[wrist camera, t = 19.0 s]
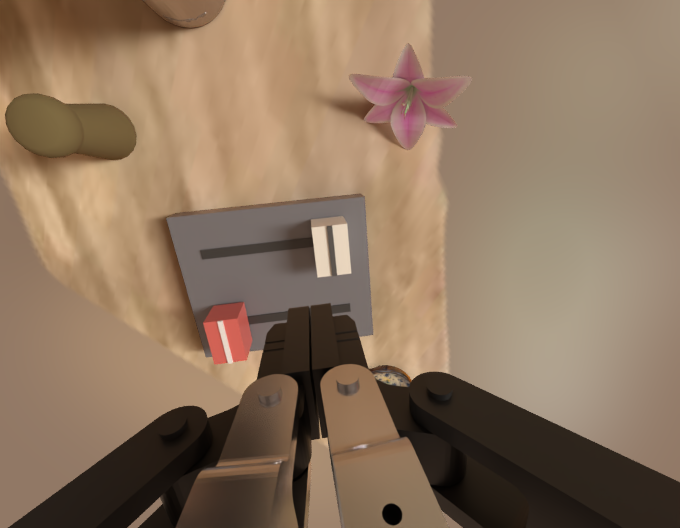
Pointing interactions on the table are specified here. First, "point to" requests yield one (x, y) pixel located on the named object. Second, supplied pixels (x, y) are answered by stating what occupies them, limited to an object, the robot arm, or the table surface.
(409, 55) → the lily
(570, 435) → the robot arm
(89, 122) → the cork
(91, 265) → the table surface
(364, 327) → the console
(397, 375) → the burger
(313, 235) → the block
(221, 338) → the block
